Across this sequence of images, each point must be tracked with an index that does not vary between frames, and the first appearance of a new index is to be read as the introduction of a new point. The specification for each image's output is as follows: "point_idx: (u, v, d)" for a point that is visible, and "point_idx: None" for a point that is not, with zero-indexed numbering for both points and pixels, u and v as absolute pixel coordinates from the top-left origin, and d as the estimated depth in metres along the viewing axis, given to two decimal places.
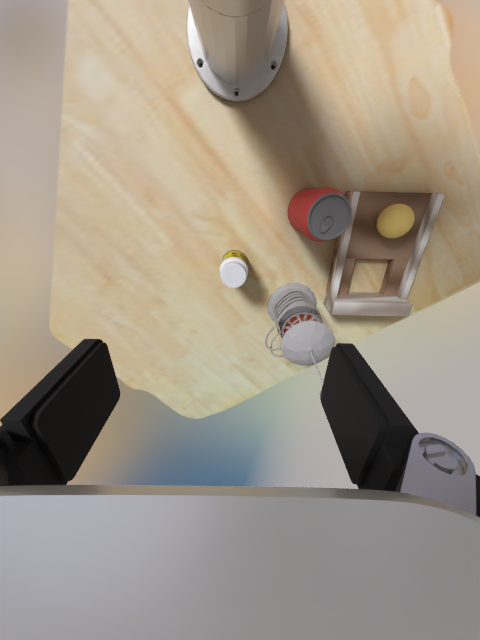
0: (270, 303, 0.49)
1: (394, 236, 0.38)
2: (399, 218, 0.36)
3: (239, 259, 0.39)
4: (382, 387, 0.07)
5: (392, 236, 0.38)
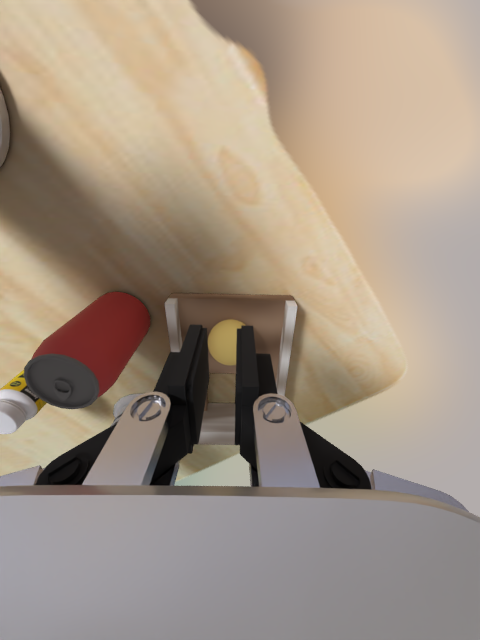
0: (114, 415, 0.37)
1: None
2: (222, 349, 0.24)
3: (14, 393, 0.27)
4: (253, 359, 0.08)
5: None
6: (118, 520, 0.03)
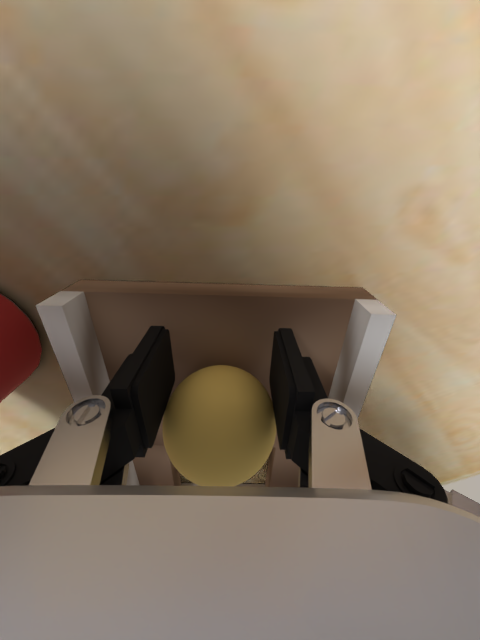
0: None
1: None
2: (197, 478, 0.09)
3: None
4: (301, 362, 0.08)
5: None
6: (118, 520, 0.03)
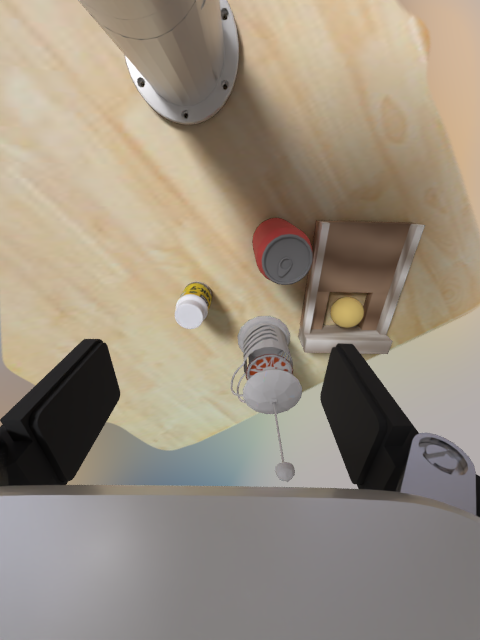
0: (240, 336, 0.45)
1: None
2: None
3: (196, 297, 0.35)
4: (382, 387, 0.07)
5: None
6: (118, 520, 0.03)
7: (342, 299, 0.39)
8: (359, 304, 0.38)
